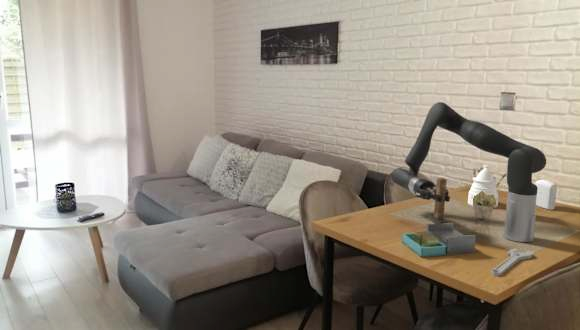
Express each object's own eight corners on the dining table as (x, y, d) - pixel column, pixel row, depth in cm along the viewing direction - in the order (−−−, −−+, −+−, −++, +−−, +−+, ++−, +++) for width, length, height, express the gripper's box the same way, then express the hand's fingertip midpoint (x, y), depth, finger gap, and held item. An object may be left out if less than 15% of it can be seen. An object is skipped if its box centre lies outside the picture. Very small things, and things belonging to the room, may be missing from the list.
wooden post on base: (435, 218, 171) (439, 175, 167) (448, 226, 162) (452, 181, 159) (428, 219, 170) (431, 176, 167) (440, 227, 162) (444, 181, 158)
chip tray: (425, 240, 160) (425, 232, 159) (446, 255, 146) (446, 246, 146) (401, 241, 158) (402, 233, 157) (421, 257, 144) (421, 248, 144)
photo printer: (530, 204, 207) (533, 178, 205) (538, 203, 208) (541, 177, 206) (547, 210, 197) (551, 183, 195) (556, 209, 198) (559, 182, 196)
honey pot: (470, 199, 216) (473, 162, 212) (499, 202, 209) (502, 165, 206) (465, 205, 205) (468, 167, 201) (495, 209, 198) (499, 170, 195)
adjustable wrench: (498, 278, 130) (499, 273, 130) (477, 271, 135) (478, 266, 135) (534, 257, 146) (535, 251, 146) (514, 251, 151) (514, 246, 151)
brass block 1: (425, 231, 156) (414, 231, 155) (431, 235, 152) (420, 235, 151) (424, 242, 156) (414, 242, 156) (430, 246, 153) (419, 246, 152)
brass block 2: (432, 235, 151) (422, 236, 150) (438, 239, 147) (427, 240, 147) (432, 246, 152) (421, 247, 151) (438, 251, 148) (427, 252, 147)
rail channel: (450, 238, 162) (452, 222, 161) (474, 252, 148) (475, 235, 147) (425, 240, 160) (426, 224, 159) (447, 255, 146) (448, 237, 145)
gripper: (406, 179, 176) (427, 190, 159) (438, 177, 178) (462, 188, 162) (404, 197, 177) (426, 210, 160) (436, 195, 180) (461, 208, 163)
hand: (444, 199), depth 161 cm, fingers closed on wooden post on base, 2 cm apart
